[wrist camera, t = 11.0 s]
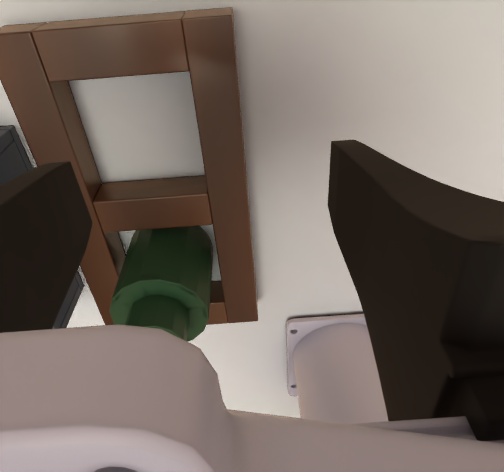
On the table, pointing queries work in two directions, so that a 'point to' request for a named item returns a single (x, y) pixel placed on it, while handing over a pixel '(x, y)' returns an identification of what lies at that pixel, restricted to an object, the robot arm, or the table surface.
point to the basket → (9, 167)
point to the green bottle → (166, 281)
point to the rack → (146, 191)
